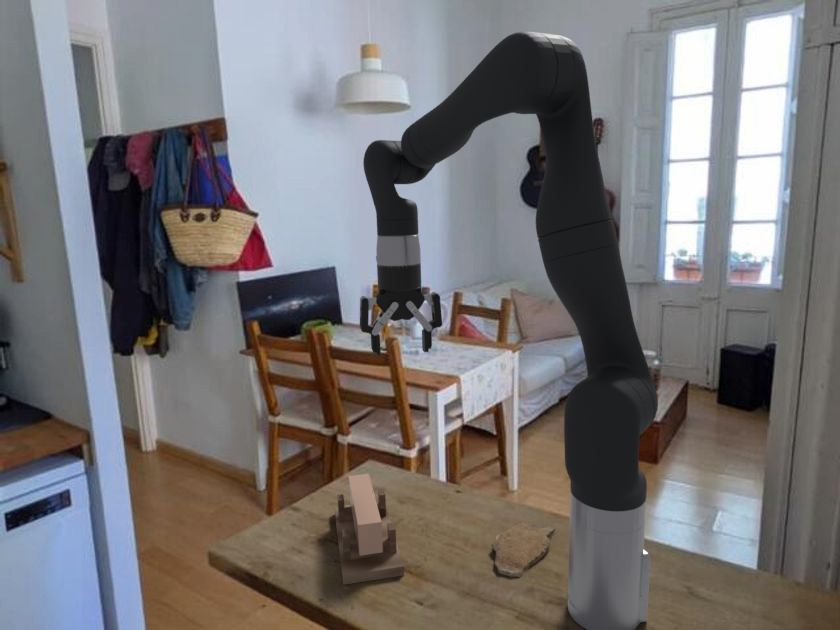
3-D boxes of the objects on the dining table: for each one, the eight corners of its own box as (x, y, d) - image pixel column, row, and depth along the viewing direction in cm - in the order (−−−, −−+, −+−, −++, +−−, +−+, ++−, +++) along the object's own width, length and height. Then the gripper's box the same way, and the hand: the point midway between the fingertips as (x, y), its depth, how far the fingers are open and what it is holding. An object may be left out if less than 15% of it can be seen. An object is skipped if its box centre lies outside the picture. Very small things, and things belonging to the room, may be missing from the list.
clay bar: (370, 499, 103) (368, 473, 102) (382, 552, 87) (381, 521, 86) (350, 502, 102) (348, 476, 101) (359, 555, 87) (357, 525, 86)
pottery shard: (536, 593, 84) (557, 531, 97) (536, 578, 84) (557, 517, 97) (481, 579, 88) (509, 521, 101) (480, 565, 87) (508, 508, 100)
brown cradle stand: (334, 514, 104) (333, 485, 103) (384, 507, 106) (383, 479, 105) (343, 584, 85) (341, 550, 84) (404, 575, 86) (402, 541, 85)
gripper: (359, 266, 95) (364, 362, 98) (444, 261, 98) (446, 355, 101) (355, 261, 102) (359, 351, 105) (434, 257, 105) (436, 345, 108)
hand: (402, 353), depth 103 cm, fingers open, 8 cm apart
